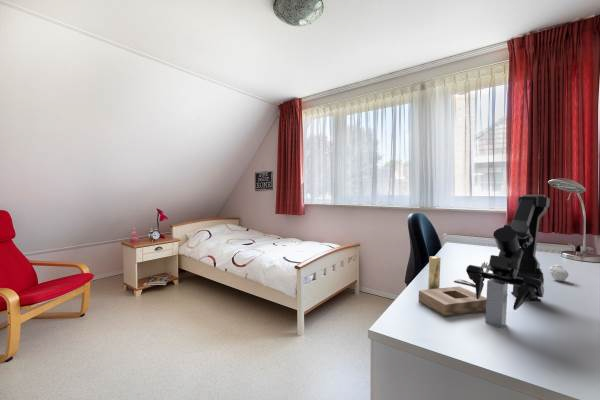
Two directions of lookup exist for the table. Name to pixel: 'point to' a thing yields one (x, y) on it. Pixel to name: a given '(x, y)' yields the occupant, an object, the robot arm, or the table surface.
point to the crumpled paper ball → (558, 272)
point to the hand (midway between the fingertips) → (494, 303)
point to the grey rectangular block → (496, 303)
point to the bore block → (452, 301)
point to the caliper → (486, 266)
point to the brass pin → (434, 272)
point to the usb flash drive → (465, 282)
